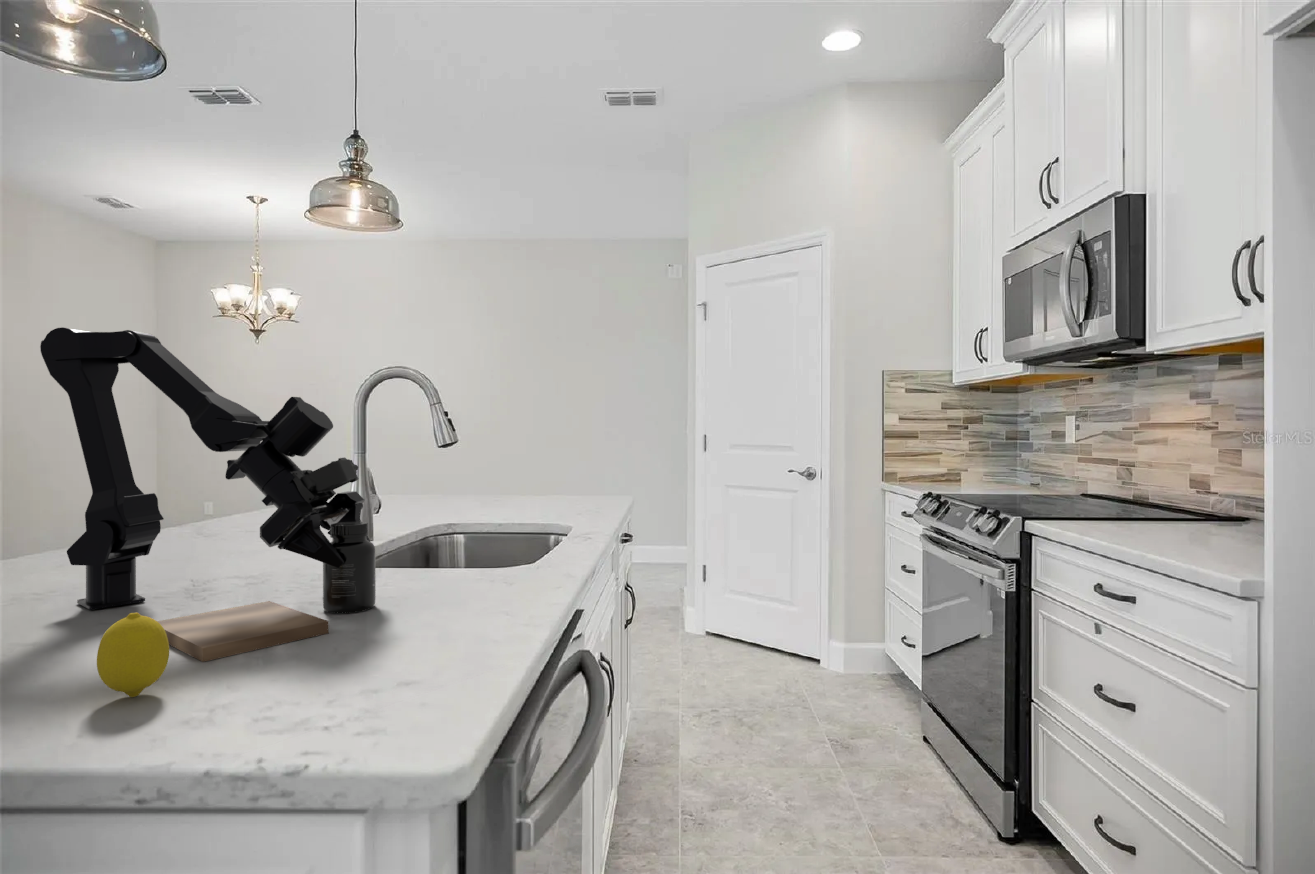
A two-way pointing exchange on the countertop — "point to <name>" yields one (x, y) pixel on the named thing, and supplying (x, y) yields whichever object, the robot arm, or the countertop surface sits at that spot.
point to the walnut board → (240, 629)
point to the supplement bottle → (350, 570)
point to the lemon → (132, 654)
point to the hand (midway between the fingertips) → (357, 558)
